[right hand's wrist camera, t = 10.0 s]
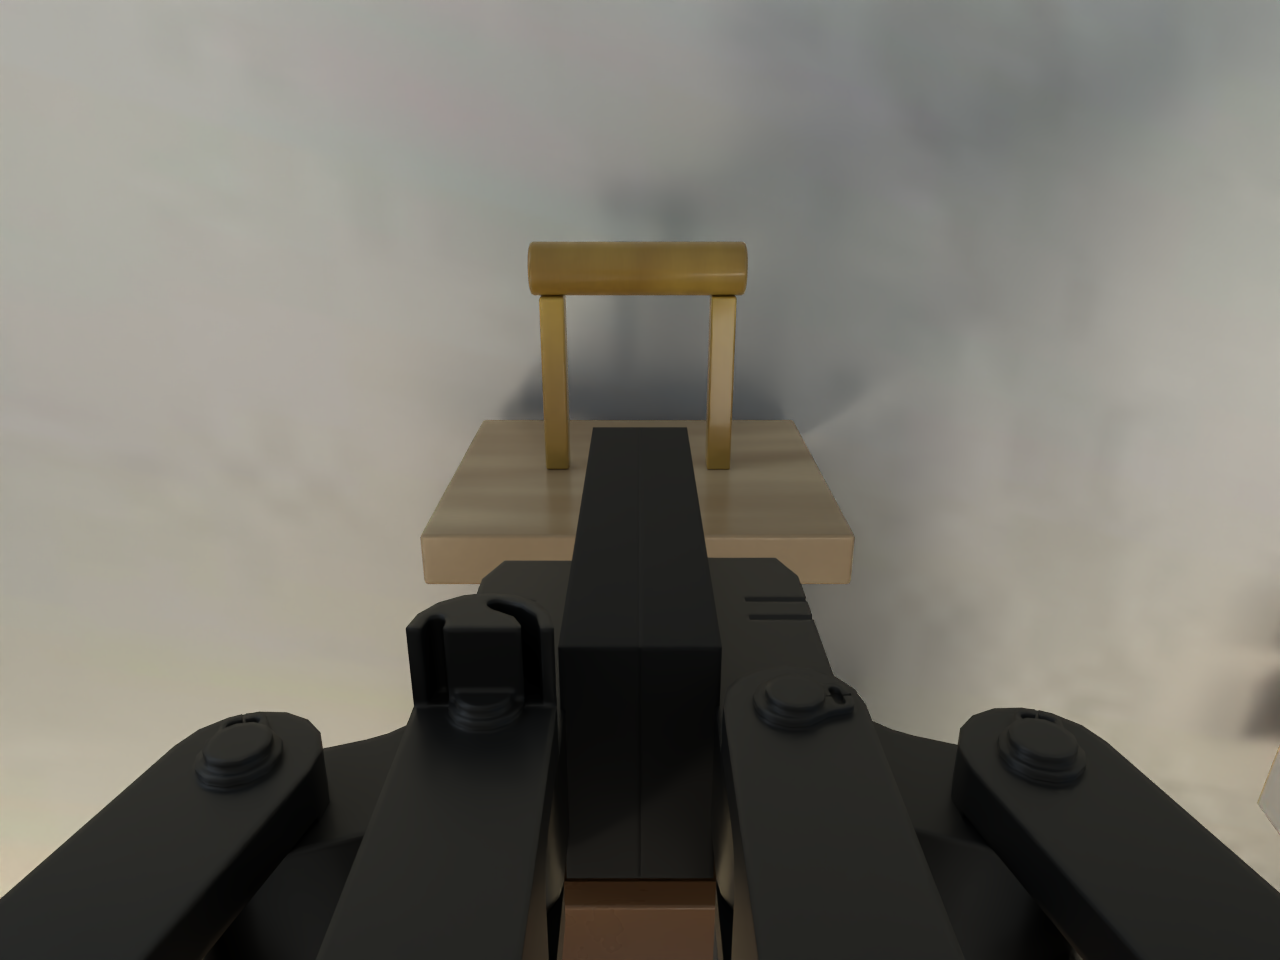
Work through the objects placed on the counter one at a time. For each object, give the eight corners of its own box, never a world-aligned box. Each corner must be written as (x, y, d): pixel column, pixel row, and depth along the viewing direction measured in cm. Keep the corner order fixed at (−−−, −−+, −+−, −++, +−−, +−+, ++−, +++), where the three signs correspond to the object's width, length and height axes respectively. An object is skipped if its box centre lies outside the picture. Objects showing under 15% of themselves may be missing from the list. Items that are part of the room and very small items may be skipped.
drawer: (469, 225, 25) (393, 267, 17) (806, 225, 25) (881, 267, 17) (514, 900, 34) (476, 1131, 26) (762, 900, 34) (799, 1130, 26)
